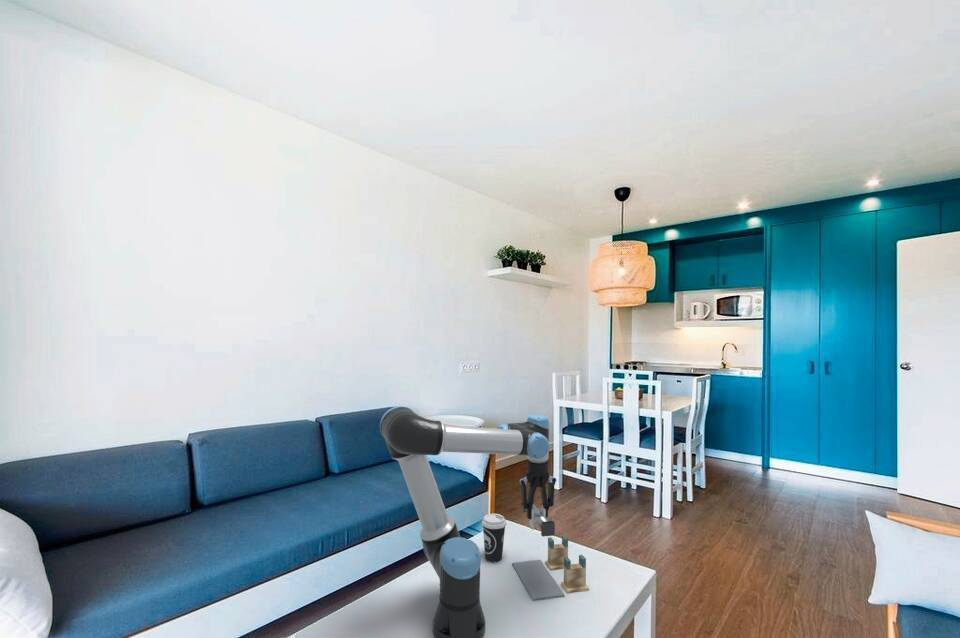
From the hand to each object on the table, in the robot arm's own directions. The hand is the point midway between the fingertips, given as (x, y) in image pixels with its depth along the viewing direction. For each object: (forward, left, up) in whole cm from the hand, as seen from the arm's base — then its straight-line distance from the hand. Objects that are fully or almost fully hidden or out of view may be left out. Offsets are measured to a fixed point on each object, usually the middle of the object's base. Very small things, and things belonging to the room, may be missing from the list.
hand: (537, 527), depth 148 cm
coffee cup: (-11, +17, -18) cm, 27 cm away
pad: (0, 0, -18) cm, 18 cm away
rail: (0, 0, +2) cm, 2 cm away
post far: (+11, +7, -18) cm, 22 cm away
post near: (+11, -7, -18) cm, 22 cm away
